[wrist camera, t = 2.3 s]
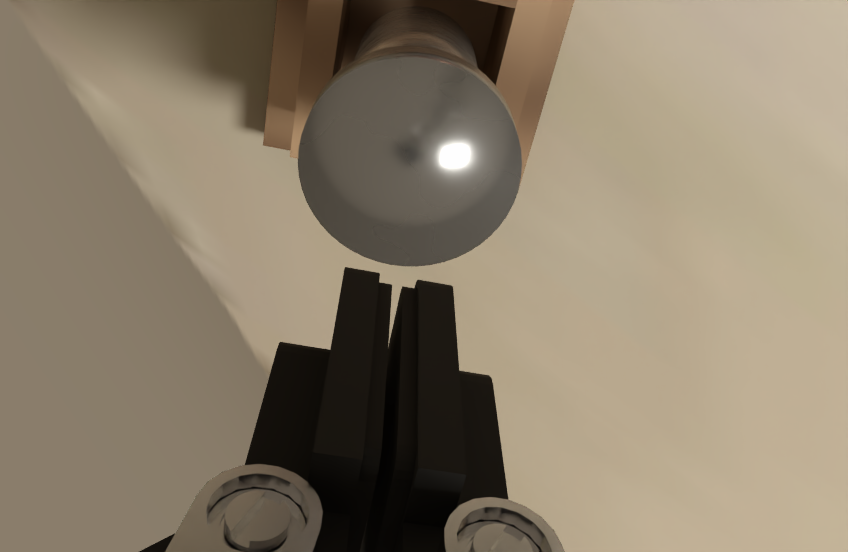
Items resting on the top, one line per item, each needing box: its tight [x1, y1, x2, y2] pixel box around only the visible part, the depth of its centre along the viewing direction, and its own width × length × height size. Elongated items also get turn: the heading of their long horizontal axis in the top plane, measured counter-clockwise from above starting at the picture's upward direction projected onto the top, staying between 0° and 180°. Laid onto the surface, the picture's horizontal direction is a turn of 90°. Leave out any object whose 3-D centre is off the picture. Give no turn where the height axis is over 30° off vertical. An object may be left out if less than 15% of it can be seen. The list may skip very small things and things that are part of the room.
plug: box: [298, 6, 522, 266], centre depth 20 cm, size 5×5×8 cm
